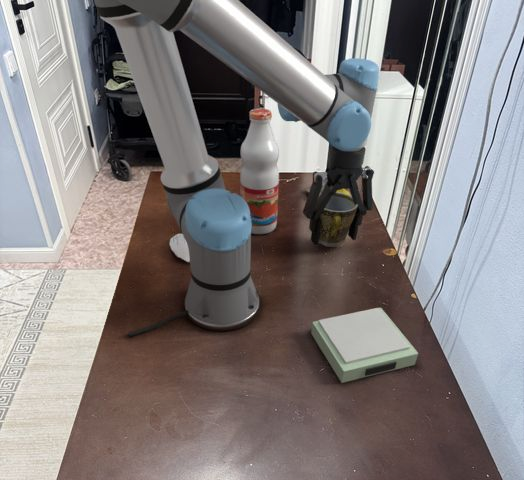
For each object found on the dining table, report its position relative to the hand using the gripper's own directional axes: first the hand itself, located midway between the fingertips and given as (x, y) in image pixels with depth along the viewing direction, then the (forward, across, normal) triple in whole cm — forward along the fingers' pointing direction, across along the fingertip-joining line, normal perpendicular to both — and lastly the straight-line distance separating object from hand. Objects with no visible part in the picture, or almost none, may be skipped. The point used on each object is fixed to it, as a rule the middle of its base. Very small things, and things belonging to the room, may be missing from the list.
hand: (333, 239), depth 118 cm
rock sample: (+3, +9, +27) cm, 28 cm away
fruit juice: (+3, -13, +16) cm, 21 cm away
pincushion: (+4, -34, +10) cm, 36 cm away
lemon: (+3, +9, +14) cm, 17 cm away
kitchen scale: (+3, -9, -34) cm, 35 cm away
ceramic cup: (+1, -1, 0) cm, 1 cm away
